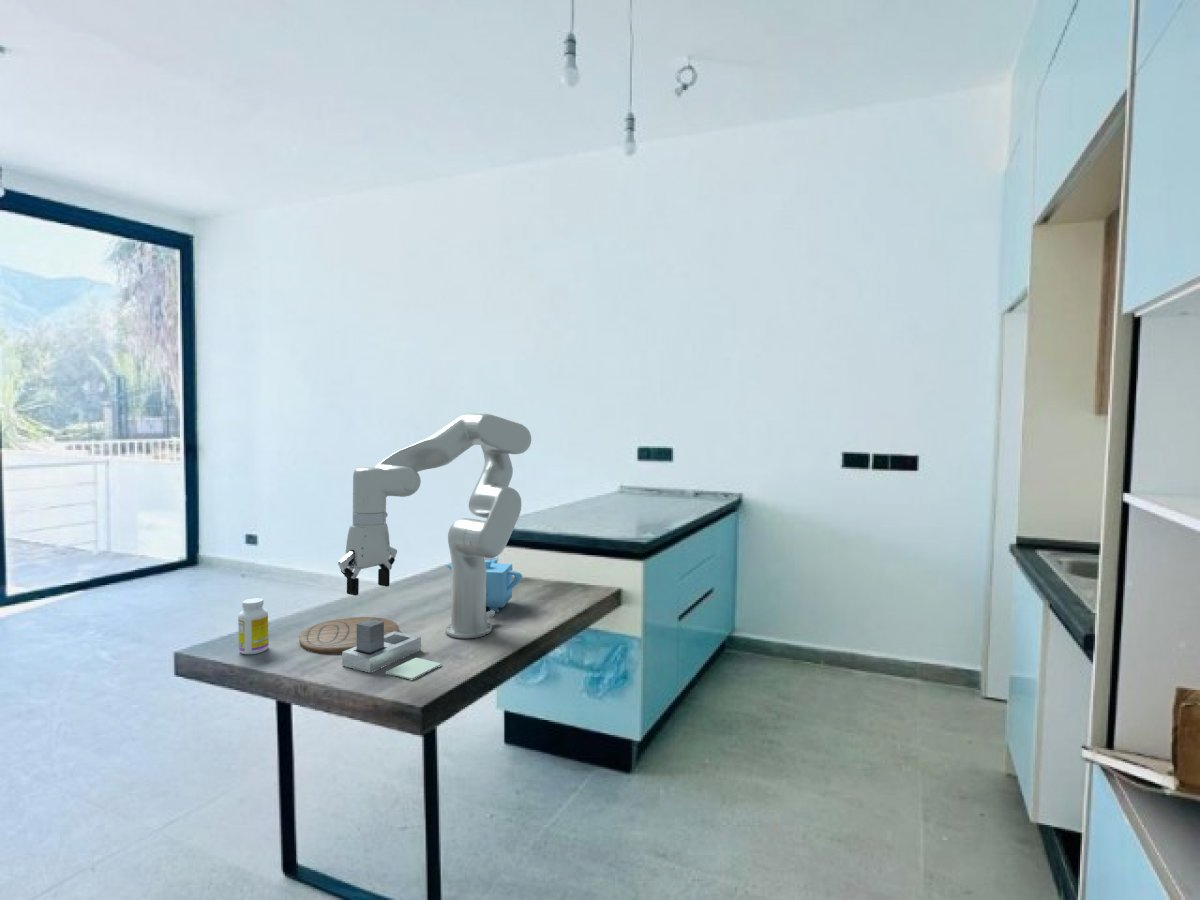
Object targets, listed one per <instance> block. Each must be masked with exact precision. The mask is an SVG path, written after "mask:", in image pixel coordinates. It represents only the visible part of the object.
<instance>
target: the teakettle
mask: <svg viewBox="0 0 1200 900" xmlns="http://www.w3.org/2000/svg"><path fill="white" fill-rule="evenodd" d="M484 560H485V564H486V608H488V611H489V610H493V611H498V610H499V611H500V609H499V608H504V607H505V606H506V605H507V604H508V603H509V602H510V600H511V599H512V598H513V588H515V587H516V586H517V585H518V584H519V583H520V582H521V581H522V578H523V574H522V573H521V572H519V571H516V570H513V564H512V563H498V560H499V557H493V558H492V560H489V559H484ZM444 566H445V567H447V568H449V570H450V571H451V564H444ZM513 576H514V579H513ZM499 611H498V612H499Z"/></svg>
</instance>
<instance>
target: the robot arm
mask: <svg viewBox="0 0 1200 900" xmlns="http://www.w3.org/2000/svg"><path fill="white" fill-rule="evenodd" d="M531 443H532V435H531V432H530V430H529V429H528V428H527V427H526V426H525V425H523V424H522V423H519V422H516V421H512V420H509V419H507V418H504V417H500V416H497V415H494V414H490V413H464V414H462V415H461V416H459V417H456V419H453V421H450V422H449V423H448V424H446V425H445V426H444V427H442V428H441V429H440V430H437V432H435V433H433V434H432V435H431V436H429V437H427V438H425V439H422V440H420V441H418V442H416V443H414V444H411V445H409V446H407V447H404V448H401V449H399V450H397V451H395V452H393V453H392V454H390V455H389V456H387V457H386V458H384V459H383V460H382V461H380V462H379V463H378V464H376V465H375V466H372V467H371V466H369V467H368V466H364V467H358V468H355V469H354V471H353V475H352V525H350V526H349V529H348V533H347V538H346V544H345V545H346V547H345V555H344V556H343V557H342V558H341V559H340V560H338V561H337V565H338V567H339V570H340V572H341V574H343V576H344V577H345V578H346V594H347V595H351V596H359V593H360V591H359V589H360V587H359V585H360V584H359V583H360V581H359V577H358V576H359V573H360V572H361V570H363V569H364V570H365V569H370V568H372V567H377V566H378V567H379V568H378V572H377V573H378V574H377V576H378V577H377V584H378V586H381V587H386V588H387V587H389V586H390V575H391V572H390V571H391V570H392V568H393V564H394V563H395V561H396V560H395V559H396V556H397V553H398V550H397V549H396V548H394V547H391V546H390V534H389V533H390V532H389V527H388V523H387V517H388V513H387V497H399V498H404V497H405V498H406V497H410V496H412V495H414V494H415V493H417V491H418V490H419V489H420V486H421V482H422V480H421V476H420V474H419V472H421V471H426V470H430V469H436V468H441V467H444V466H446V465H448V464H450V463H451V462H453V461H454V460H456V459H457V458H459V457H460V455H462V454H463V453H464V452H466V451H468V450H469V449H470V448H471V447H473V446H480V447H481V450H482V453H483V457H484V466H483V469H482V472H481V473H480V475H479V477H478V480H477V483H476V484H475V487H474V488H473V491H472V493H471V495H470V497H469V500H468V510H469V511H470V512H471V514H472V515H473V516H474V515H475V516H476V517H479V518H484V519H486V520H480V519H475V518H470V517H469V518H468V517H465V518H459V519H457V520H456V521H454V522H453V523H452V524H451V525H450V527H449V529H448V532H447V543H448V548H449V554H450V563H451V564H450V565H451V570H450V571H451V578H450V579H451V581H450V583H451V590H450V591H451V593H450V595H451V596H450V597H451V602H450V604H451V605H450V607H451V610H450V614H451V615H450V618H451V620H450V624H449V625H446V627H445V634H446V635H447V636H448V637H451V638H455V639H476V638H481V637H484V636H486V634H487V635H488V634H489V633H491V632H492V625H491V623H489V622H488V620H489V619H490V618H493V617H494V616H495V615H496V612H494V611H493V610H490V611H489V610H488V611H487V607H486V564H485V560H486V559H487V558H489V559H494V558H497V557H499V555H501V553H503V551H504V550H505V548H506V546H507V544H508V542H509V540H510V538H511V535H512V533H513V531H514V529H515V526H516V524H517V522H518V519H519V518H520V515H521V511H522V498H521V496H520V493H519V492H518V491H517V490H516V489H515V488H513V487H510V483H511V481H512V477H513V474H514V473H513V472H514V470H513V464H512V461H511V460H512V459H511V457H510V455H521V454H523V453H525V452H526V451H528V450H529V448H530V446H531ZM485 558H486V559H485Z"/></svg>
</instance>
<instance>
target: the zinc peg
mask: <svg viewBox="0 0 1200 900" xmlns="http://www.w3.org/2000/svg"><path fill="white" fill-rule="evenodd" d="M383 649H384V622H382V621H378V620H373V619H369V620H366V621H364V622H361V623H358V624H357V652H360V653H364V654H368V655H371V654H374V653H376V652H378V651H381V650H383Z"/></svg>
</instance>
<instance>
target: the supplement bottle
mask: <svg viewBox="0 0 1200 900" xmlns="http://www.w3.org/2000/svg"><path fill="white" fill-rule="evenodd" d="M241 605H242V608H243V609H242V611H240V612H239V613H238V616H237V617H238V618H237V619H238V621H237V624H238V651H239V653H240V654H243V655H257V654H260V653H264V652H265V651H267V650H268V649H269V612H268V610H267V609H266V608H264V607H263V606H264V599H263V598H260V597H255V598H253V597H252V598H248V599H244V600H243V601H242V604H241Z"/></svg>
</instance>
